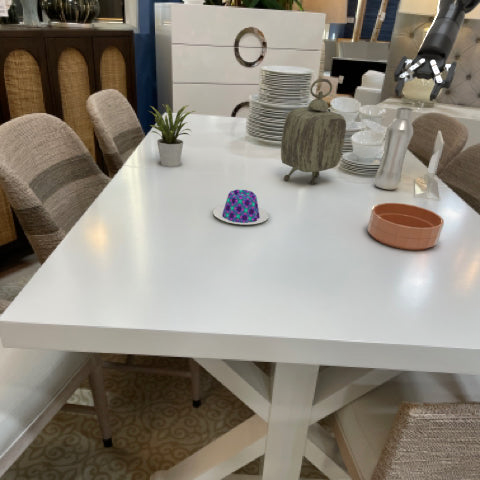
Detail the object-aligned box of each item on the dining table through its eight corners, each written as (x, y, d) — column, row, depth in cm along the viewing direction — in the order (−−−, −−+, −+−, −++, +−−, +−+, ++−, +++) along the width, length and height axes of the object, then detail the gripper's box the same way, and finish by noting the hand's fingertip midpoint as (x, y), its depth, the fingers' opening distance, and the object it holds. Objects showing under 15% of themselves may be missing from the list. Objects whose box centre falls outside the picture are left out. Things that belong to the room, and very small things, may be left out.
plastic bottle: (373, 183, 131) (391, 105, 120) (398, 187, 129) (419, 108, 118) (371, 189, 125) (390, 108, 114) (397, 194, 124) (419, 112, 113)
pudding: (206, 208, 105) (207, 185, 102) (256, 205, 109) (258, 183, 106) (222, 229, 96) (224, 204, 93) (276, 225, 99) (279, 201, 97)
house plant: (202, 159, 138) (204, 99, 129) (198, 173, 127) (199, 107, 118) (154, 155, 138) (152, 94, 129) (145, 169, 126) (142, 102, 117)
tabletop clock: (316, 174, 134) (332, 76, 120) (339, 183, 128) (358, 81, 114) (276, 180, 127) (288, 76, 113) (298, 190, 121) (314, 82, 107)
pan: (425, 227, 105) (431, 205, 102) (445, 255, 93) (453, 231, 90) (361, 222, 105) (366, 200, 102) (374, 249, 93) (379, 225, 90)
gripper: (465, 58, 122) (441, 111, 120) (410, 52, 128) (387, 102, 126) (468, 34, 115) (443, 89, 113) (410, 29, 121) (385, 81, 119)
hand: (413, 96), depth 119 cm, fingers open, 8 cm apart
